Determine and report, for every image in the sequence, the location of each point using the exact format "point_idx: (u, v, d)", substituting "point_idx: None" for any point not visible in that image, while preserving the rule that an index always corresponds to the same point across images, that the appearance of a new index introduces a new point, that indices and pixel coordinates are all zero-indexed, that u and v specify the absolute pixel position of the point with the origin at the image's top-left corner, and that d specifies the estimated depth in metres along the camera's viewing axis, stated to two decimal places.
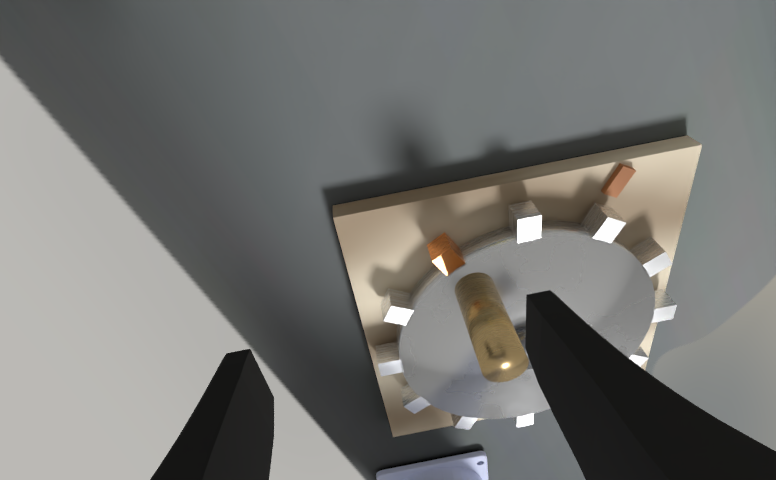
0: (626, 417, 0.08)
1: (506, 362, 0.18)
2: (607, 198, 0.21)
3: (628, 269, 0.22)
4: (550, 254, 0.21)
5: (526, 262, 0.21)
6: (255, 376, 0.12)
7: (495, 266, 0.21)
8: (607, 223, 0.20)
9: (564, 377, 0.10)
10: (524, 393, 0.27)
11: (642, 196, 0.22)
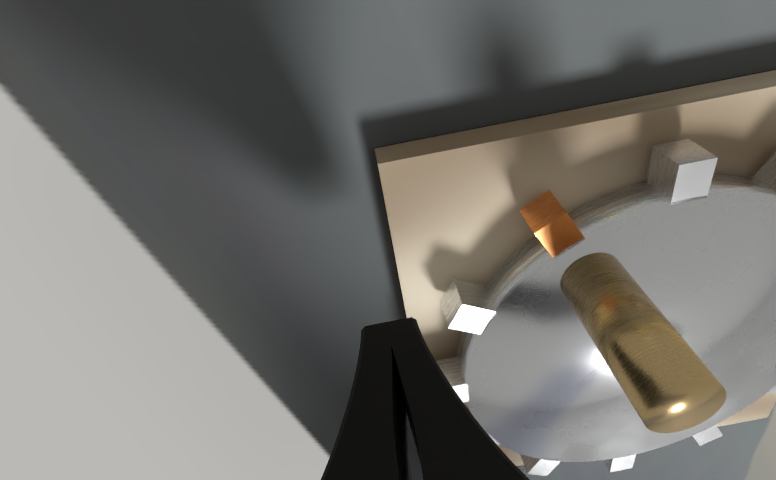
0: (424, 457, 0.08)
1: (689, 401, 0.10)
2: None
3: None
4: (715, 224, 0.13)
5: (676, 236, 0.14)
6: None
7: (628, 243, 0.13)
8: None
9: (407, 408, 0.10)
10: (629, 428, 0.19)
11: None
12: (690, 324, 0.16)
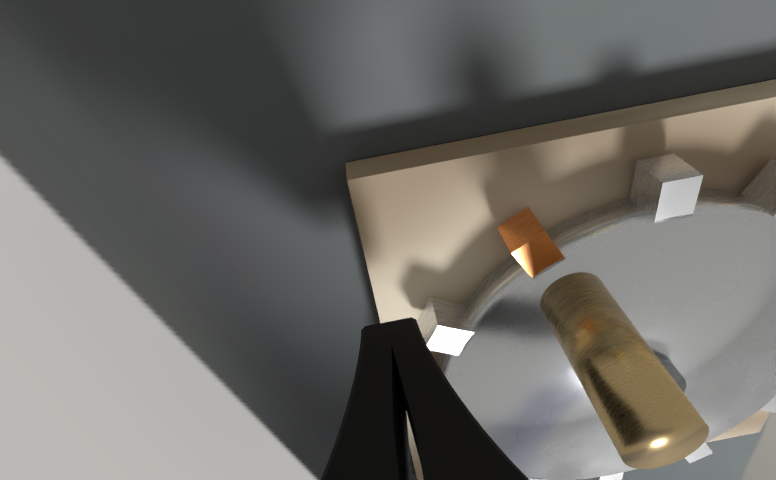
0: (424, 457, 0.08)
1: (669, 437, 0.10)
2: None
3: None
4: (701, 243, 0.13)
5: (661, 255, 0.13)
6: None
7: (611, 262, 0.13)
8: None
9: (407, 408, 0.10)
10: None
11: None
12: (677, 343, 0.15)
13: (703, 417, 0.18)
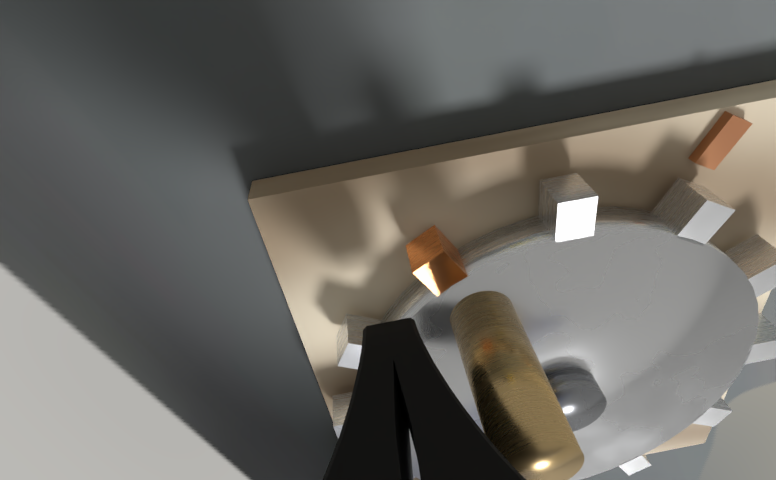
0: (422, 457, 0.08)
1: (544, 462, 0.10)
2: (696, 171, 0.13)
3: (725, 285, 0.14)
4: (606, 262, 0.13)
5: (567, 274, 0.13)
6: None
7: (517, 281, 0.13)
8: (704, 211, 0.12)
9: (405, 408, 0.10)
10: None
11: (751, 168, 0.13)
12: (597, 359, 0.15)
13: (636, 430, 0.18)
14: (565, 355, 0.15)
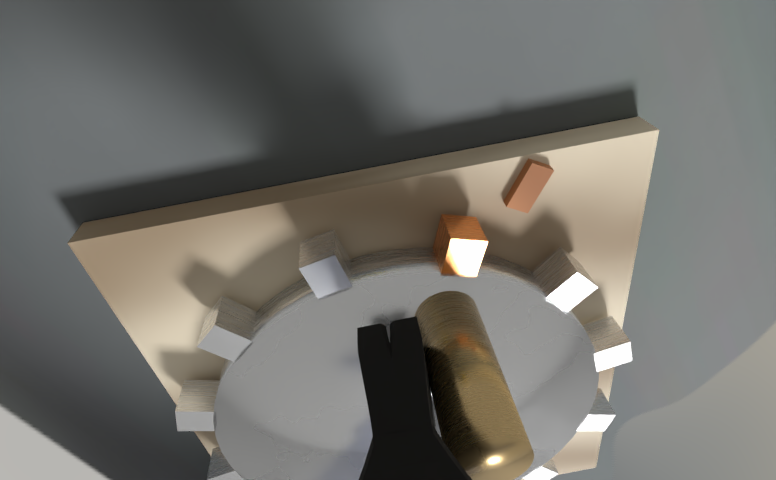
0: (379, 466, 0.08)
1: (502, 459, 0.10)
2: (515, 213, 0.14)
3: (575, 410, 0.17)
4: (549, 339, 0.15)
5: (523, 329, 0.14)
6: None
7: (495, 307, 0.14)
8: (621, 348, 0.15)
9: None
10: None
11: (570, 210, 0.14)
12: None
13: None
14: None
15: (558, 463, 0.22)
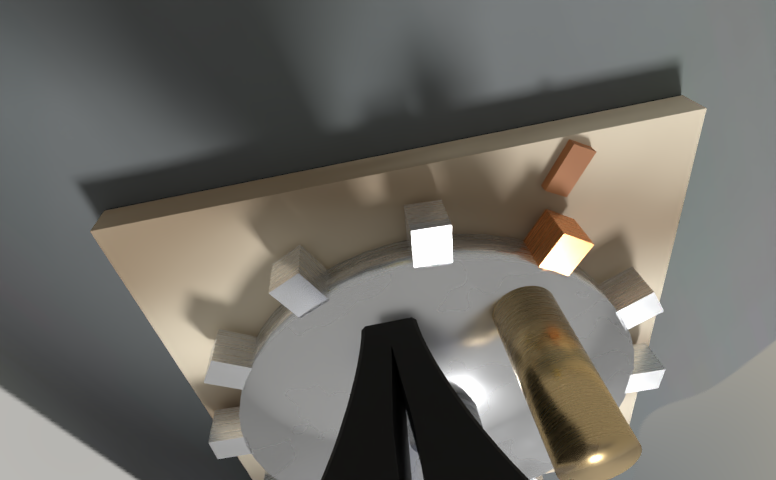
0: (424, 457, 0.08)
1: (610, 457, 0.10)
2: (553, 198, 0.13)
3: None
4: (601, 353, 0.15)
5: (583, 338, 0.15)
6: None
7: (569, 311, 0.14)
8: (655, 374, 0.16)
9: (407, 408, 0.10)
10: None
11: (610, 194, 0.13)
12: (491, 412, 0.16)
13: None
14: (489, 391, 0.16)
15: None
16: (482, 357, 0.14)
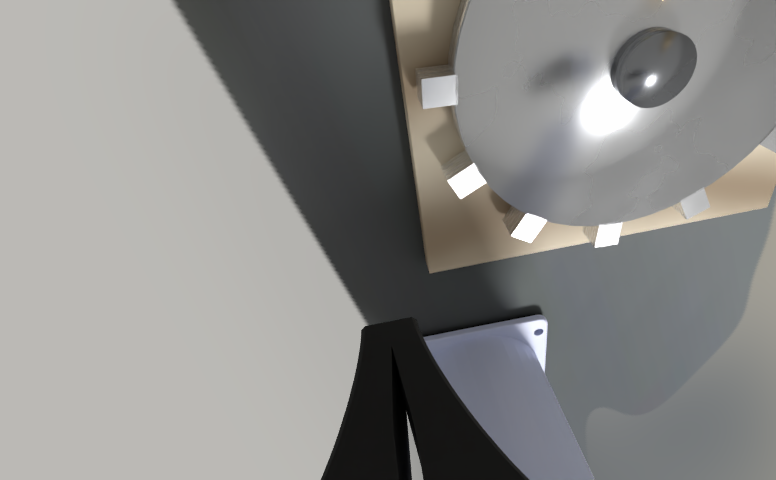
0: (424, 457, 0.08)
1: None
2: None
3: (775, 109, 0.18)
4: None
5: None
6: None
7: None
8: None
9: (407, 408, 0.10)
10: (529, 138, 0.17)
11: None
12: None
13: (585, 185, 0.19)
14: (699, 32, 0.16)
15: (733, 196, 0.22)
16: None
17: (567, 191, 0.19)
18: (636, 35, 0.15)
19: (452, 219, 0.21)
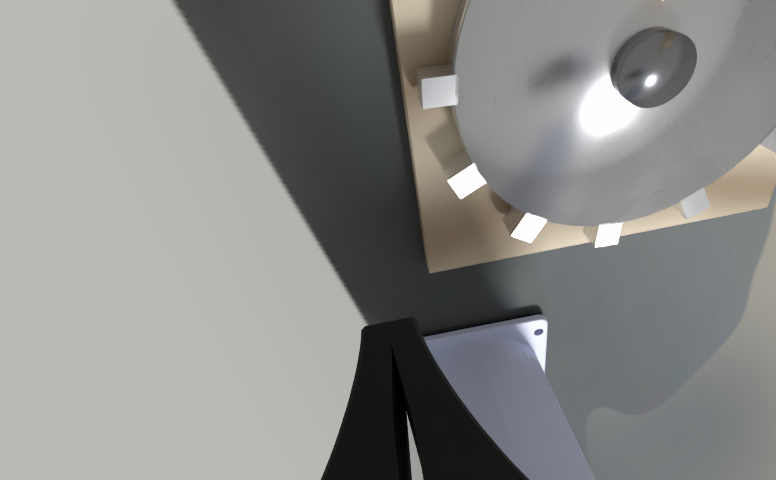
0: (424, 457, 0.08)
1: None
2: None
3: (775, 109, 0.18)
4: None
5: None
6: None
7: None
8: None
9: (407, 408, 0.10)
10: (529, 138, 0.17)
11: None
12: None
13: (585, 185, 0.19)
14: (699, 32, 0.16)
15: (733, 196, 0.22)
16: None
17: (567, 191, 0.19)
18: (636, 35, 0.15)
19: (452, 219, 0.21)
